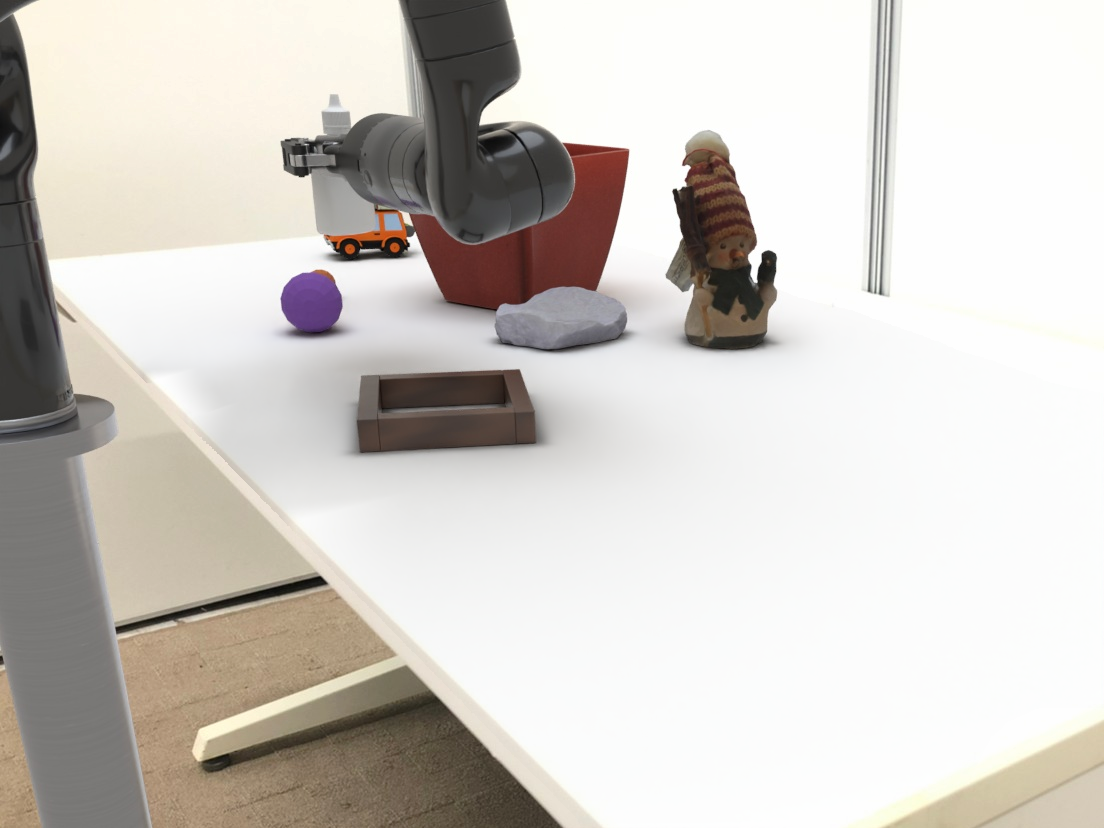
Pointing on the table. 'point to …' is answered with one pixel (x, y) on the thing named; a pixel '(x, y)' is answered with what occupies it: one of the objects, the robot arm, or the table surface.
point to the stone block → (561, 319)
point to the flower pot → (536, 241)
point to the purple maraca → (312, 301)
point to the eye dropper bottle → (339, 187)
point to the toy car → (376, 236)
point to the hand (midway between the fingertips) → (328, 149)
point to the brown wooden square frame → (445, 424)
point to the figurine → (719, 252)
